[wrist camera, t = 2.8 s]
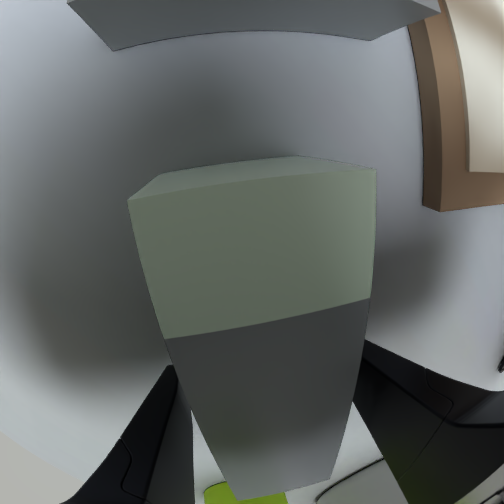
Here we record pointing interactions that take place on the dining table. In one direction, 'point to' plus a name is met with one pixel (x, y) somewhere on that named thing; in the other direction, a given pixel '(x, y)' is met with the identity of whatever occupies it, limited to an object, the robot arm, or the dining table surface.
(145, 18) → the button housing
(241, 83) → the dining table surface
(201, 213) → the grey green block
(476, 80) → the board
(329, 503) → the cylinder vase
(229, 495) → the soap dispenser
